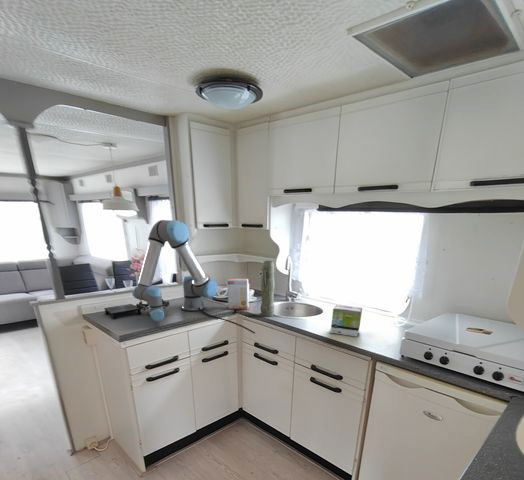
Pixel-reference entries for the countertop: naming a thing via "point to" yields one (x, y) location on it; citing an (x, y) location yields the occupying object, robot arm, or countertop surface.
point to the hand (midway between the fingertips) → (151, 301)
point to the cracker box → (238, 294)
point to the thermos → (267, 289)
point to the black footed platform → (122, 309)
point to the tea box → (346, 320)
